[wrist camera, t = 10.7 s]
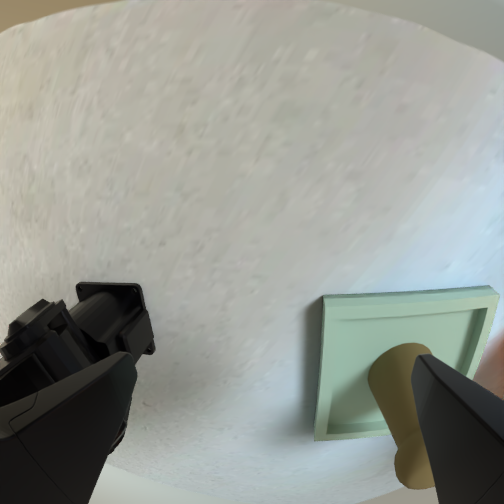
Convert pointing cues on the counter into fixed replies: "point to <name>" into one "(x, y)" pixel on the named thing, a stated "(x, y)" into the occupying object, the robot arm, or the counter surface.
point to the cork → (402, 412)
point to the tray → (385, 337)
